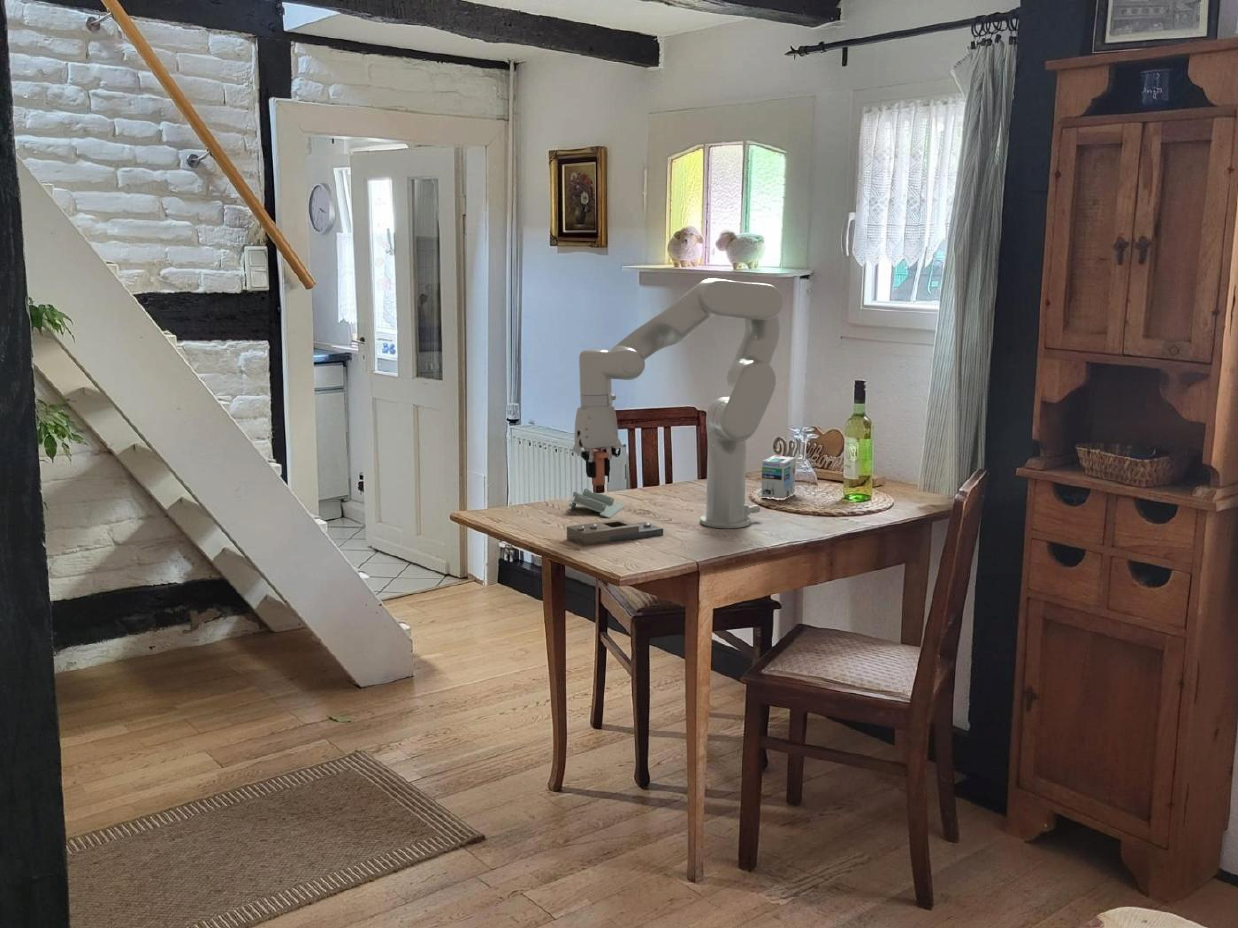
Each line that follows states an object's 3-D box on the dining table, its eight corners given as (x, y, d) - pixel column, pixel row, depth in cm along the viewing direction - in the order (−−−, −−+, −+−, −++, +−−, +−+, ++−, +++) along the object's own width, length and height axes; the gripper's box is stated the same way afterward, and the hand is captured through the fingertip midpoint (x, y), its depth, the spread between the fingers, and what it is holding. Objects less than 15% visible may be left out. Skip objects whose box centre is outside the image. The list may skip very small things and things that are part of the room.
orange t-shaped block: (596, 480, 279) (595, 448, 278) (611, 485, 273) (610, 452, 272) (585, 482, 278) (584, 450, 276) (600, 487, 272) (599, 454, 270)
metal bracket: (565, 494, 291) (583, 482, 305) (559, 514, 292) (577, 502, 306) (616, 513, 288) (632, 500, 302) (610, 534, 289) (626, 520, 303)
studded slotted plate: (645, 527, 279) (645, 513, 278) (663, 534, 272) (663, 520, 271) (566, 538, 267) (566, 524, 266) (583, 546, 260) (583, 531, 260)
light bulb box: (783, 501, 309) (785, 462, 307) (760, 499, 312) (761, 460, 310) (795, 494, 319) (796, 456, 317) (772, 492, 322) (773, 454, 320)
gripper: (617, 396, 279) (618, 469, 283) (558, 402, 271) (561, 478, 274) (633, 399, 273) (635, 474, 276) (574, 406, 264) (576, 483, 268)
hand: (598, 475), depth 275 cm, fingers closed on orange t-shaped block, 3 cm apart
